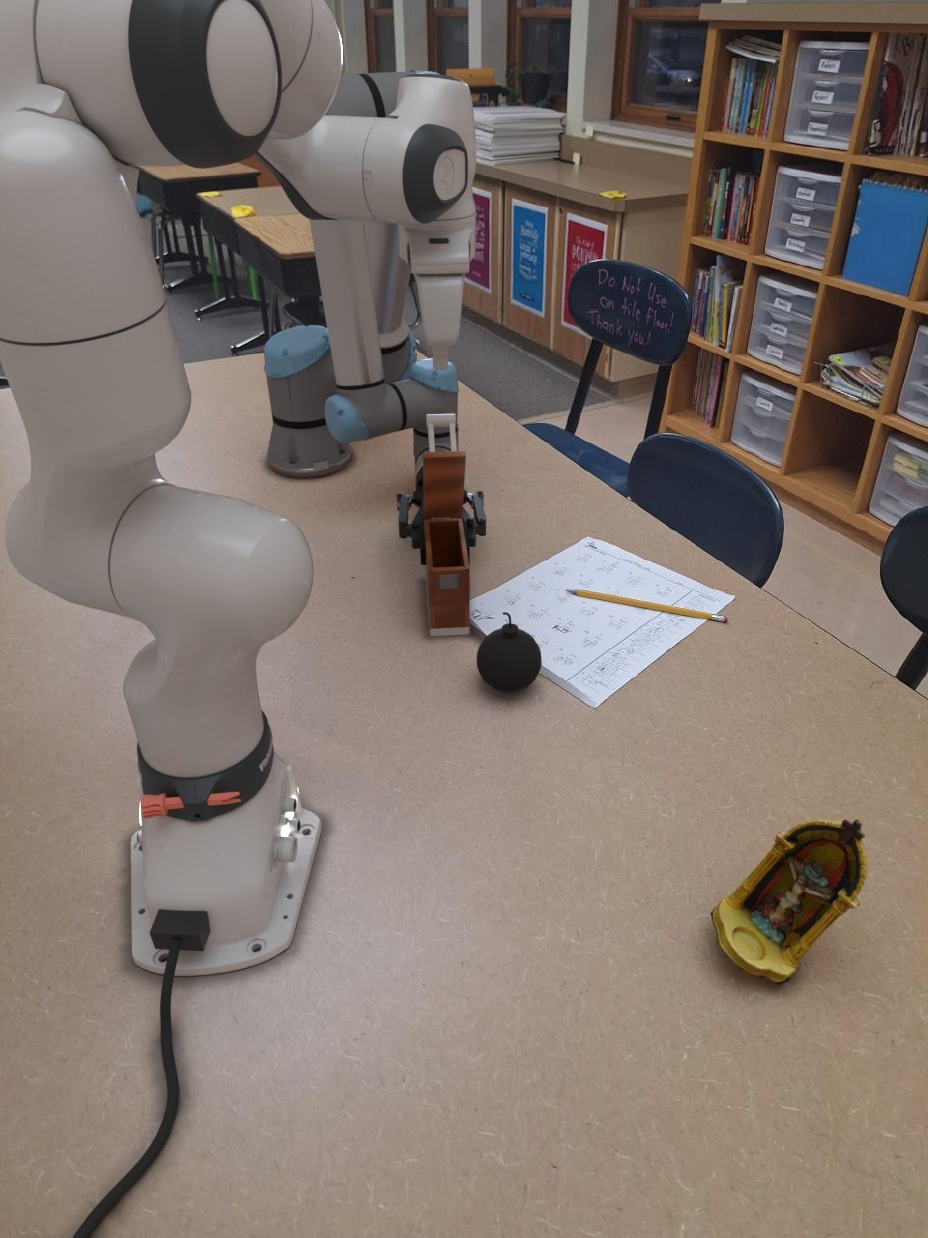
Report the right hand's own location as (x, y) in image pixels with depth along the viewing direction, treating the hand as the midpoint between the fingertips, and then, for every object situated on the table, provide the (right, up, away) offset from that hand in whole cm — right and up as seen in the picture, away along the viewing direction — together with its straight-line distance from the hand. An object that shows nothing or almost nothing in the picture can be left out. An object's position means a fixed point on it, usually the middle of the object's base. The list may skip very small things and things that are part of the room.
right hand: (445, 555), depth 118 cm
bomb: (+8, -17, -12) cm, 22 cm away
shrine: (+30, -38, -42) cm, 64 cm away
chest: (0, -7, +2) cm, 7 cm away
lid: (0, +8, -5) cm, 10 cm away
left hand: (0, +24, -12) cm, 26 cm away
